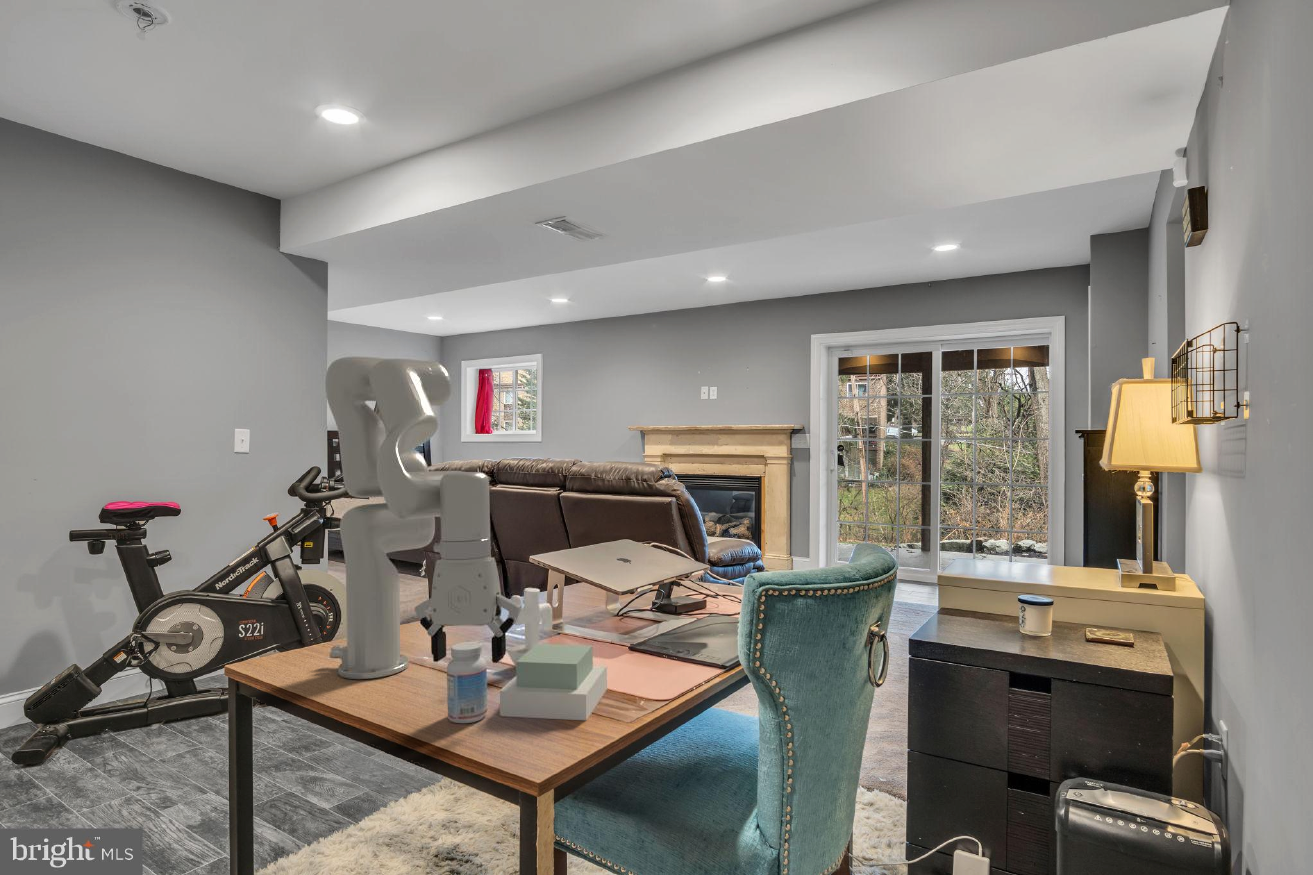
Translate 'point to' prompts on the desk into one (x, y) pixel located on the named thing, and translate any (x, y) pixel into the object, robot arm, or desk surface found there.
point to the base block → (554, 699)
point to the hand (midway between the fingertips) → (468, 659)
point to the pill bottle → (467, 683)
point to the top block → (554, 666)
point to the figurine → (530, 621)
